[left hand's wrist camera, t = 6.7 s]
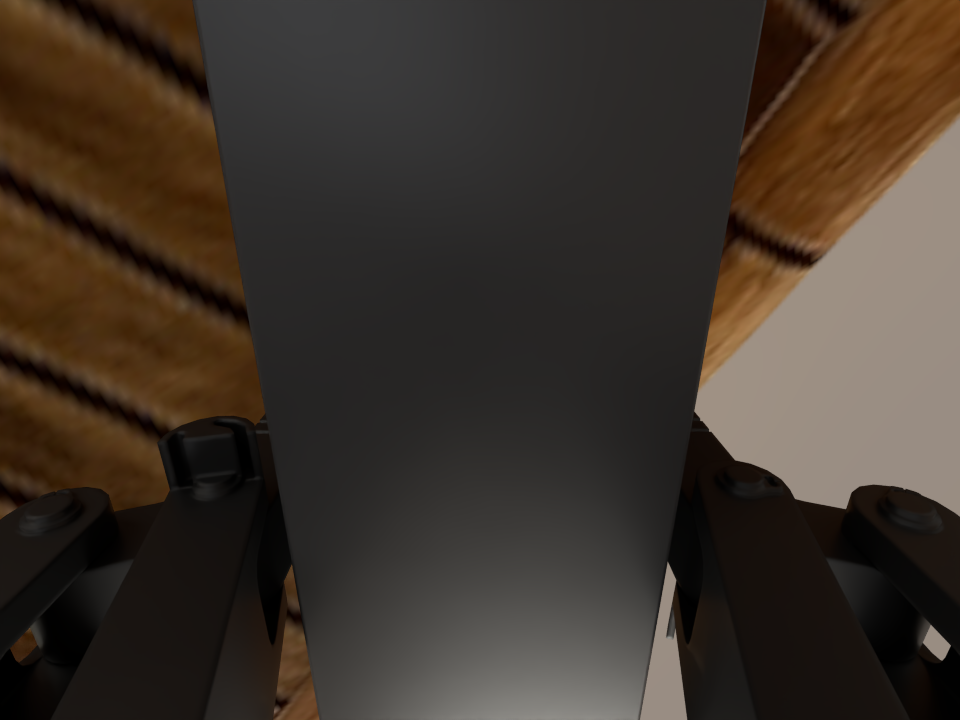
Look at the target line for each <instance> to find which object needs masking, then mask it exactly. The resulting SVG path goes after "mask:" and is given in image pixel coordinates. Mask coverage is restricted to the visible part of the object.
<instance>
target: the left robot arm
mask: <svg viewBox="0 0 960 720" xmlns="http://www.w3.org/2000/svg"><path fill="white" fill-rule="evenodd" d="M157 443H158V447H159V451H160V454H161V458H162V462H163V465H164V469H165V473H166V476H167V480H168V484H169V487H170V492H169V494H168V495H167V497H166V499H165V501H164V502H161V503H157V504H152V505H147V506H141V507H136V508H131V509H126V510H120V511H115V512H114V510H113V507H112V504H111V501H110V498H109V495H108V494H107V493H105V492H104V491H103V490H101V489H97V488H89V487H83V488H73V489H63V490H58V491H57V492H55V491H54V492H51V493H48V494H45V495H42V496H41V497H39V498H38V499H35V500H33V501H30V502H28V503H26V504H24V505H22V506H20V507H19V508H17V509H16V510H14V511H12V512H11V513H9V514H8V515H6V516H5V517H3V518H2V519H1V520H0V720H273V714H274V707H275V699H276V691H277V683H278V675H279V668H280V660H281V652H282V644H283V636H284V628H285V621H286V613H287V605H288V604H287V597H286V591H285V586H284V580H285V578H286V576H287V573H288V571H289V569H290V567H291V565H292V561H291V555H290V549H289V544H288V538H287V532H286V527H285V521H284V515H283V510H282V504H281V498H280V493H279V487H278V481H277V476H276V470H275V464H274V459H273V453H272V447H271V442H270V436H269V430H268V425H267V419H266V414H265V415H264V416H263V417H262V418H261V420H260V423H257V424H256V426H254V424H253V423H252V422H251V421H249V420H248V419H246V418H241V417H237V416H216V417H210V418H205V419H199V420H196V421H193V422H190V423H187V424H184V425H181V426H180V427H178V428H176V429H174V430H172V431H170V432H169V433H167V434H166V435H165V436H164V437H163V438H162V439H160V440H159V441H158V442H157ZM668 563H669V565H670V567H671V569H672V571H673V574H674V576H675V578H676V586H675V591H674V596H673V602H672V607H671V612H670V618H669V623H668V628H667V636H666V638H669V639H673V638H674V632H675V628H676V635H677V643H678V651H679V658H680V666H681V674H682V682H683V690H684V697H685V705H686V713H687V720H960V517H959V516H958V515H957V514H955V513H954V512H952V511H951V510H949V509H948V508H946V507H944V506H943V505H941V504H939V503H938V502H936V501H934V500H931V499H929V498H927V497H924V496H922V495H921V494H919V493H917V492H914V491H911V490H908V489H906V490H904V489H903V488H899V487H895V486H882V485H868V486H860V487H858V488H857V489H856V490H854V491H853V492H852V493H851V496H850V499H849V502H848V505H847V508H846V509H842V508H836V507H831V506H826V505H820V504H815V503H810V502H805V501H801V500H797V499H795V498H794V496H793V494H792V493H791V491H790V489H789V488H788V487H787V486H786V484H785V483H784V482H783V481H782V480H781V479H780V478H778V477H777V476H775V475H774V474H772V473H771V472H769V471H767V470H765V469H763V468H760V467H758V466H755V465H752V464H749V463H745V462H740V461H735V460H734V459H733V457H732V456H731V455H730V454H729V453H728V451H727V450H726V449H725V448H724V447H723V445H722V444H721V443H720V442H719V441H718V439H717V438H716V437H715V436H714V435H713V433H712V432H709V429H708V427H707V426H706V425H705V424H704V423H703V421H700V418H699V417H698V415H697V414H696V413H695V412H694V415H693V421H692V426H691V432H690V438H689V443H688V449H687V455H686V460H685V466H684V472H683V477H682V483H681V489H680V494H679V500H678V506H677V511H676V517H675V523H674V528H673V534H672V540H671V545H670V551H669V557H668ZM930 625H932V626H933V627H934V628H935V629H936V630H937V631H938V632H939V633H940V635H941V636H942V637H943V638H944V639H945V640H946V641H947V642H948V643H949V644H950V645H951V647H950V649H949V651H948V653H947V655H946V657H945V658H944V660H943V661H941V660H940V659H938V658H937V657H936V656H935V655H934V654H932V653H931V651H930V650H929V649H928V648H927V647H926V646H925V645H924V644H923V641H924V639H925V636H926V634H927V632H928V630H929V627H930ZM29 628H30V629H31V631H32V633H33V635H34V637H35V640H36V642H37V644H38V645H37V646H36V648H35V649H34V650H33V651H32V652H31V653H30V654H29V655H28V656H27V657H26V658H24V659H23V660H22V661H21V662H19V663H18V662H17V661H16V660H15V658H14V656H13V654H12V652H11V650H10V648H11V647H12V646H13V645H14V643H15V642H16V641H17V640H18V639H19V638H20V637H21V636H22V635H23V634H24V633H25V632H26V631H27V630H28V629H29Z"/></svg>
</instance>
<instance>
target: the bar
mask: <svg viewBox="0 0 960 720" xmlns="http://www.w3.org/2000/svg"><path fill="white" fill-rule="evenodd" d="M192 1H193V6H194V12H195V18H196V23H197V29H198V35H199V40H200V46H201V52H202V57H203V63H204V68H205V74H206V80H207V85H208V91H209V97H210V102H211V108H212V114H213V119H214V125H215V131H216V136H217V142H218V148H219V153H220V159H221V165H222V170H223V176H224V182H225V187H226V193H227V199H228V204H229V210H230V216H231V221H232V227H233V232H234V238H235V244H236V249H237V255H238V261H239V266H240V272H241V278H242V283H243V289H244V295H245V300H246V306H247V312H248V317H249V323H250V329H251V334H252V340H253V346H254V351H255V357H256V363H257V368H258V374H259V380H260V385H261V391H262V397H263V402H264V408H265V413H266V419H267V425H268V430H269V436H270V442H271V447H272V453H273V459H274V464H275V470H276V476H277V481H278V487H279V493H280V498H281V504H282V510H283V515H284V521H285V527H286V532H287V538H288V544H289V549H290V555H291V561H292V566H293V572H294V578H295V583H296V589H297V594H298V600H299V606H300V611H301V617H302V623H303V628H304V634H305V640H306V645H307V651H308V657H309V662H310V668H311V674H312V679H313V685H314V691H315V696H316V702H317V708H318V713H319V719H320V720H640V715H641V710H642V704H643V698H644V693H645V687H646V681H647V676H648V670H649V664H650V659H651V653H652V647H653V642H654V636H655V630H656V625H657V619H658V613H659V608H660V602H661V596H662V591H663V585H664V579H665V574H666V568H667V562H668V557H669V551H670V545H671V540H672V534H673V528H674V523H675V517H676V511H677V506H678V500H679V494H680V489H681V483H682V477H683V472H684V466H685V460H686V455H687V449H688V443H689V438H690V432H691V426H692V421H693V415H694V409H695V404H696V398H697V392H698V387H699V381H700V375H701V370H702V364H703V358H704V353H705V347H706V341H707V336H708V330H709V324H710V319H711V313H712V307H713V302H714V296H715V290H716V285H717V279H718V273H719V268H720V262H721V256H722V251H723V245H724V239H725V234H726V228H727V222H728V217H729V211H730V205H731V200H732V194H733V188H734V183H735V177H736V171H737V166H738V160H739V154H740V149H741V143H742V137H743V132H744V126H745V120H746V115H747V109H748V103H749V98H750V92H751V86H752V81H753V75H754V69H755V63H756V58H757V52H758V46H759V41H760V35H761V29H762V24H763V18H764V12H765V7H766V1H767V0H192Z"/></svg>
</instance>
